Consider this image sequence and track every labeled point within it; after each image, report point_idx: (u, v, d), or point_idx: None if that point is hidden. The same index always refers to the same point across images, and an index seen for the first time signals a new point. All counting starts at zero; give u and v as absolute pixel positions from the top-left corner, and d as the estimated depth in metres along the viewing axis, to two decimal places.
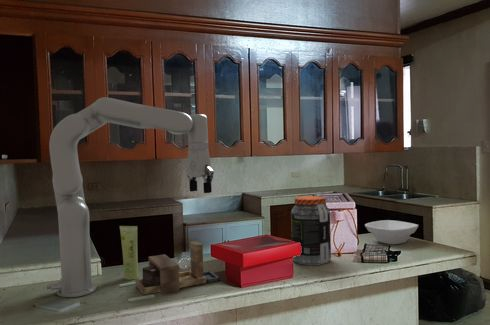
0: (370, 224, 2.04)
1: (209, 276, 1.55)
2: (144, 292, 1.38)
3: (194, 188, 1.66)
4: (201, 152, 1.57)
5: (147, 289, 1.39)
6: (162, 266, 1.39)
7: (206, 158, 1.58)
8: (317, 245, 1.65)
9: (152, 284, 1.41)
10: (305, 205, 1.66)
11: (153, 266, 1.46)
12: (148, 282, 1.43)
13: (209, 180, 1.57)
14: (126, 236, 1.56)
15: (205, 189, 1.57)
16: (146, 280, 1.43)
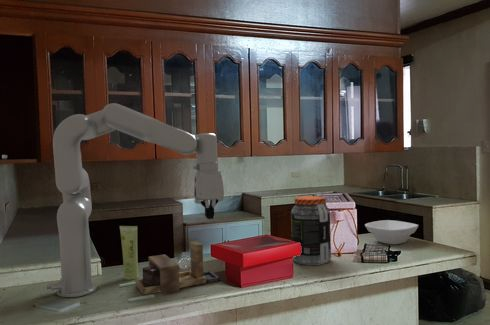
0: (370, 224, 2.04)
1: (209, 276, 1.55)
2: (144, 292, 1.38)
3: None
4: (220, 172, 1.53)
5: (147, 289, 1.39)
6: (162, 266, 1.39)
7: None
8: (317, 245, 1.65)
9: (152, 284, 1.41)
10: (305, 205, 1.66)
11: (153, 266, 1.46)
12: (148, 282, 1.43)
13: None
14: (126, 236, 1.56)
15: None
16: (146, 280, 1.43)
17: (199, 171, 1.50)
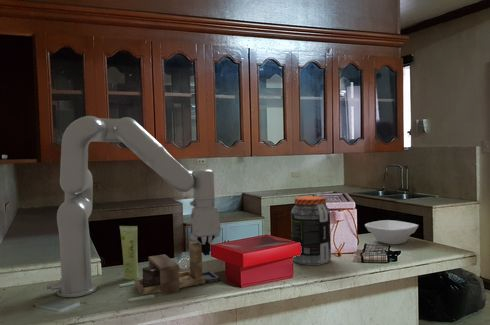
0: (370, 224, 2.04)
1: (209, 276, 1.55)
2: (143, 292, 1.38)
3: None
4: (217, 208, 1.53)
5: (146, 289, 1.38)
6: (162, 266, 1.39)
7: None
8: (317, 245, 1.65)
9: (152, 284, 1.41)
10: (305, 205, 1.66)
11: (153, 266, 1.46)
12: (148, 282, 1.43)
13: None
14: (126, 236, 1.56)
15: None
16: (146, 280, 1.43)
17: (196, 207, 1.50)
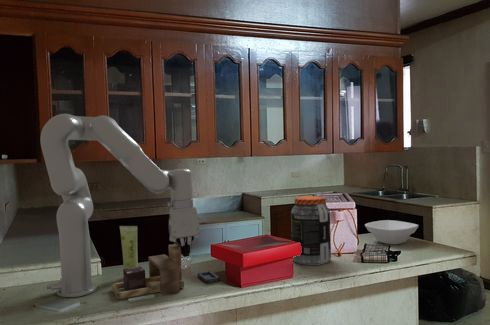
0: (370, 224, 2.04)
1: (209, 276, 1.55)
2: (119, 297, 1.35)
3: None
4: None
5: (122, 294, 1.35)
6: (162, 266, 1.39)
7: None
8: (317, 245, 1.65)
9: (127, 286, 1.40)
10: (305, 205, 1.66)
11: (134, 268, 1.44)
12: (125, 284, 1.42)
13: None
14: (126, 236, 1.56)
15: (188, 252, 1.49)
16: (125, 282, 1.42)
17: (173, 208, 1.46)
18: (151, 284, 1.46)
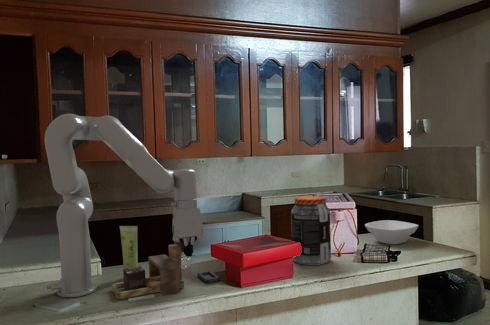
0: (370, 224, 2.04)
1: (209, 276, 1.55)
2: (119, 297, 1.35)
3: None
4: (199, 209, 1.50)
5: (122, 294, 1.35)
6: (162, 266, 1.39)
7: None
8: (317, 245, 1.65)
9: (127, 286, 1.40)
10: (305, 205, 1.66)
11: (134, 268, 1.44)
12: (125, 284, 1.42)
13: None
14: (126, 236, 1.56)
15: (191, 252, 1.50)
16: (125, 282, 1.42)
17: (177, 208, 1.47)
18: (151, 284, 1.46)
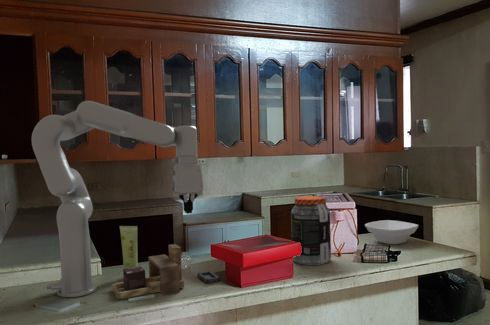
0: (370, 224, 2.04)
1: (209, 276, 1.55)
2: (119, 297, 1.35)
3: None
4: (200, 166, 1.50)
5: (122, 294, 1.35)
6: (162, 266, 1.39)
7: None
8: (317, 245, 1.65)
9: (127, 286, 1.40)
10: (305, 205, 1.66)
11: (134, 268, 1.44)
12: (125, 284, 1.42)
13: None
14: (126, 236, 1.56)
15: (191, 209, 1.49)
16: (125, 282, 1.42)
17: (178, 164, 1.47)
18: (151, 284, 1.46)
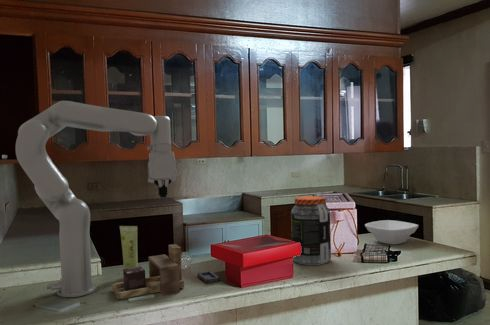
0: (370, 224, 2.04)
1: (209, 276, 1.55)
2: (119, 297, 1.35)
3: None
4: (173, 153, 1.61)
5: (122, 294, 1.35)
6: (162, 266, 1.39)
7: None
8: (317, 245, 1.65)
9: (127, 286, 1.40)
10: (305, 205, 1.66)
11: (134, 268, 1.44)
12: (125, 284, 1.42)
13: None
14: (126, 236, 1.56)
15: (165, 193, 1.60)
16: (125, 282, 1.42)
17: (152, 152, 1.58)
18: (151, 284, 1.46)
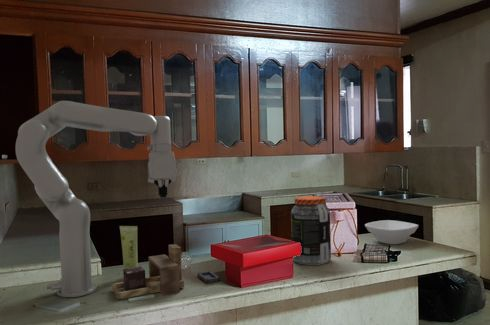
0: (370, 224, 2.04)
1: (209, 276, 1.55)
2: (119, 297, 1.35)
3: None
4: (173, 153, 1.61)
5: (122, 294, 1.35)
6: (162, 266, 1.39)
7: None
8: (317, 245, 1.65)
9: (127, 286, 1.40)
10: (305, 205, 1.66)
11: (134, 268, 1.44)
12: (125, 284, 1.42)
13: None
14: (126, 236, 1.56)
15: (165, 193, 1.60)
16: (125, 282, 1.42)
17: (152, 152, 1.58)
18: (151, 284, 1.46)
